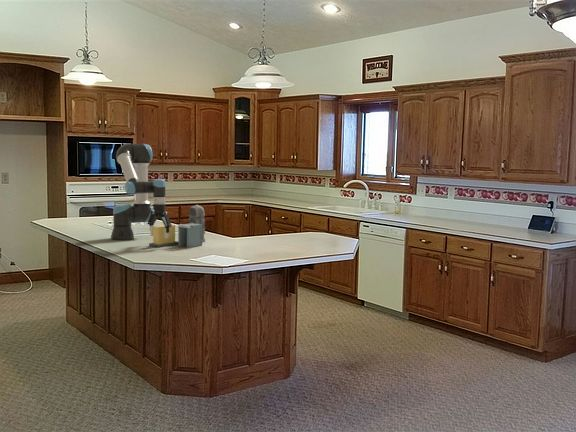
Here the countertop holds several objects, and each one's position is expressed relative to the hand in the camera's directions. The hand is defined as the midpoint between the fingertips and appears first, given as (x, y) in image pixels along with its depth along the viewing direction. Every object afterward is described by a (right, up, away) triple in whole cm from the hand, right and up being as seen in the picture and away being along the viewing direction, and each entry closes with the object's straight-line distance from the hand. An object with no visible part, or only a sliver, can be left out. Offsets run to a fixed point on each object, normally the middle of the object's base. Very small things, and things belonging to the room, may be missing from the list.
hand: (159, 236), depth 386 cm
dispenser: (+19, -6, +4) cm, 20 cm away
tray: (+2, -6, +4) cm, 7 cm away
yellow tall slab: (+2, -5, +4) cm, 7 cm away
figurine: (+21, -4, +24) cm, 32 cm away
